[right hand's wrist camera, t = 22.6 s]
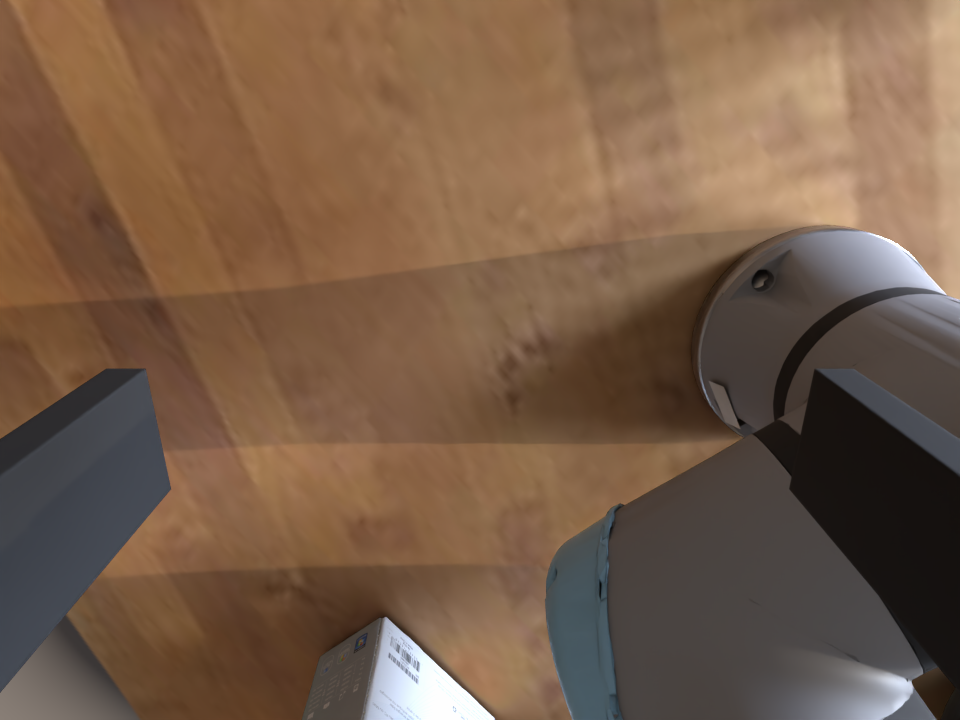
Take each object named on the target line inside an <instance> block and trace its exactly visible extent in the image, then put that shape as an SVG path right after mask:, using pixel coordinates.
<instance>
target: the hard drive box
mask: <svg viewBox="0 0 960 720" xmlns="http://www.w3.org/2000/svg"><path fill="white" fill-rule="evenodd" d="M302 720H495V718H494V717H493V716H492V715H491V714H489V713H488V712H487V711H486V710H485V709H484V708H483V707H482V706H481V705H480V704H479V703H478V702H477V701H476V700H475V699H474V698H473V697H472V696H471V695H470V694H469V693H468V692H467V691H466V690H464V689H463V688H461V687H460V686H459V685H458V684H457V683H456V682H455V681H454V680H453V679H452V678H451V677H450V676H449V675H448V674H447V673H446V672H445V671H444V670H443V669H441V668H440V667H439V666H438V665H437V664H436V663H435V662H434V661H433V660H432V659H431V658H430V657H429V656H428V655H427V654H425V653H424V652H423V651H422V650H421V648H420V647H419V646H418V645H416V644H415V643H414V642H413V641H412V640H411V639H410V638H409V637H408V636H407V635H405V634H404V633H403V632H402V631H401V630H400V629H399V628H398V627H396V626H395V625H394V624H393V623H392V622H391V621H390V620H389V619H388V618H387V617H384V618H378V619H377V620H375V621H374V622H372V623H370V624H369V625H368V626H366V627H365V628H363V629H361V630H360V631H358V632H357V633H355V634H354V635H352V636H351V637H349V638H348V639H346V640H345V641H343V642H342V643H340V644H338V645H337V646H335V647H334V648H332V649H331V650H329V651H328V652H326V653H325V654H323V655H322V656H320V658H319V661H318V665H317V668H316V672H315V675H314V679H313V682H312V686H311V689H310V693H309V697H308V700H307V703H306V707H305V710H304V714H303V717H302Z"/></svg>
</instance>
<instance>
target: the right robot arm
mask: <svg viewBox="0 0 960 720" xmlns="http://www.w3.org/2000/svg"><path fill="white" fill-rule="evenodd" d="M691 358H692V367H693V372H694V376H695V379H696V382H697V385H698V387H699V389H700V391H701V393H702V395H703V397H704V398H705V400H706V401H707V403H708V404H709V405H710V407H711V408H712V409H713V410H714V412H715V413H716V414H717V415H718V416H719V418H720V419H721V420H722V421H723V422H724V423H725V424H726V425H727V426H728V427H729V428H730V429H732V430H733V431H734V432H736V433H737V434H739V435H740V436H742V437H744V438H743V439H741V440H740V441H738V442H736V443H734V444H733V445H731V446H729V447H728V448H726V449H724V450H722V451H721V452H719V453H717V454H716V455H714V456H712V457H710V458H709V459H707V460H705V461H703V462H701V463H700V464H698V465H696V466H694V467H693V468H691V469H689V470H687V471H685V472H684V473H682V474H680V475H678V476H676V477H675V478H673V479H671V480H669V481H667V482H666V483H664V484H662V485H660V486H658V487H657V488H655V489H653V490H651V491H649V492H648V493H646V494H644V495H642V496H641V497H639V498H637V499H635V500H633V501H632V502H630V503H628V504H626V505H623V504H618V505H616V506H614V507H612V508H611V509H610V510H609V511H608V512H607V515H606V516H605V517H604V518H602V519H601V520H599V521H598V522H596V523H594V524H593V525H591V526H590V527H588V528H587V529H585V530H584V531H582V532H580V533H579V534H577V535H576V536H574V537H573V538H571V539H569V540H568V541H567V542H565V543H564V544H563V545H562V546H561V547H560V548H559V549H558V551H557V552H556V554H555V555H554V557H553V559H552V561H551V564H550V567H549V570H548V575H547V579H546V599H545V606H546V620H547V628H548V634H549V640H550V645H551V650H552V655H553V659H554V663H555V667H556V671H557V675H558V678H559V682H560V685H561V688H562V691H563V694H564V697H565V700H566V703H567V706H568V709H569V712H570V714H571V717H572V720H937V719H936V718H935V717H934V716H933V714H932V713H931V711H930V710H929V709H928V707H927V706H926V704H925V703H924V701H923V700H922V699H921V697H920V696H919V694H918V693H917V692H916V690H915V689H914V687H913V685H912V683H911V682H912V680H913V679H915V678H917V677H918V676H920V675H922V674H925V673H926V672H928V671H930V670H932V669H935V668H937V667H939V668H940V670H941V671H942V672H943V673H944V674H945V676H946V677H947V678H948V679H949V680H950V682H951V683H952V684H953V685H954V686H955V687H956V689H957V690H958V691H959V692H960V300H958V299H955V298H953V297H950V296H947V295H946V294H945V293H944V292H943V291H942V289H941V288H940V287H939V286H938V285H937V284H936V283H935V282H934V281H933V280H932V279H931V278H930V277H929V276H928V275H927V273H926V272H925V270H924V269H923V268H922V266H921V265H920V264H919V263H918V262H917V260H916V259H915V258H914V257H913V256H911V255H910V254H909V253H908V252H907V251H906V250H904V249H903V248H902V247H900V246H899V245H897V244H895V243H894V242H892V241H890V240H888V239H886V238H883V237H880V236H878V235H875V234H871V233H868V232H864V231H861V230H857V229H853V228H849V227H843V226H830V225H824V226H812V227H805V228H800V229H796V230H792V231H789V232H786V233H783V234H780V235H778V236H775V237H773V238H771V239H769V240H767V241H765V242H763V243H761V244H759V245H757V246H756V247H754V248H753V249H751V250H750V251H748V252H747V253H746V254H744V255H743V256H742V257H741V258H739V259H738V260H737V261H736V262H735V263H734V264H732V265H731V266H730V267H729V268H728V269H727V270H726V271H725V273H724V274H723V275H722V276H721V277H720V278H719V280H718V281H717V282H716V284H715V285H714V286H713V288H712V289H711V291H710V292H709V294H708V296H707V297H706V299H705V301H704V303H703V305H702V307H701V309H700V312H699V314H698V317H697V320H696V323H695V327H694V331H693V337H692V346H691ZM170 490H171V487H170V482H169V477H168V472H167V468H166V463H165V458H164V454H163V449H162V444H161V439H160V435H159V430H158V425H157V420H156V416H155V411H154V406H153V402H152V397H151V392H150V387H149V383H148V378H147V373H146V369H105V370H104V371H102V372H101V373H99V374H98V375H96V376H95V377H93V378H92V379H90V380H89V381H87V382H86V383H84V384H83V385H81V386H80V387H78V388H77V389H75V390H74V391H72V392H71V393H69V394H68V395H66V396H65V397H63V398H62V399H60V400H59V401H57V402H56V403H54V404H53V405H51V406H50V407H48V408H47V409H45V410H44V411H42V412H41V413H39V414H38V415H36V416H34V417H33V418H31V419H30V420H28V421H27V422H25V423H24V424H22V425H21V426H19V427H18V428H16V429H15V430H13V431H12V432H10V433H9V434H7V435H6V436H4V437H3V438H1V439H0V692H1V691H2V690H3V689H4V687H5V686H6V685H7V684H8V683H9V682H10V680H11V679H12V678H13V677H14V676H15V674H16V673H17V672H18V671H19V670H20V668H21V667H22V666H23V665H24V664H25V662H26V661H27V660H28V659H29V658H30V657H31V655H32V654H33V653H34V652H35V651H36V649H37V648H38V647H39V646H40V645H41V643H42V642H43V641H44V640H45V639H46V637H47V636H48V635H49V634H50V633H51V631H52V630H53V629H54V628H55V627H56V625H57V624H58V623H59V622H60V621H61V620H62V618H63V617H64V616H65V615H66V614H67V612H68V611H69V610H70V609H71V608H72V606H73V605H74V604H75V603H76V602H77V601H78V599H79V598H80V597H81V596H82V595H83V593H84V592H85V591H86V590H87V589H88V587H89V586H90V585H91V584H92V583H93V581H94V580H95V579H96V578H97V577H98V575H99V574H100V573H101V572H102V571H103V570H104V568H105V567H106V566H107V565H108V564H109V562H110V561H111V560H112V559H113V558H114V556H115V555H116V554H117V553H118V552H119V550H120V549H121V548H122V547H123V546H124V544H125V543H126V542H127V541H128V540H129V539H130V537H131V536H132V535H133V534H134V533H135V531H136V530H137V529H138V528H139V527H140V525H141V524H142V523H143V522H144V521H145V519H146V518H147V517H148V516H149V515H150V514H151V512H152V511H153V510H154V509H155V508H156V506H157V505H158V504H159V503H160V502H161V500H162V499H163V498H164V497H165V496H166V494H167V493H168V492H169V491H170Z"/></svg>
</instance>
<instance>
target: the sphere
mask: <svg viewBox="0 0 960 720" xmlns="http://www.w3.org/2000/svg"><path fill="white" fill-rule="evenodd" d="M940 720H960V692H959V691H958V690H957V689H956V688H955V690H954V692H953V693H952V695H951V697H950V699H949V701H948V703H947V704H946V707H945V709H944V712H943V714H942V717H941V719H940Z"/></svg>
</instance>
